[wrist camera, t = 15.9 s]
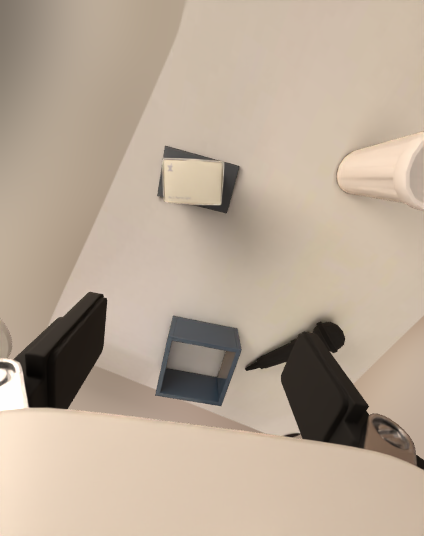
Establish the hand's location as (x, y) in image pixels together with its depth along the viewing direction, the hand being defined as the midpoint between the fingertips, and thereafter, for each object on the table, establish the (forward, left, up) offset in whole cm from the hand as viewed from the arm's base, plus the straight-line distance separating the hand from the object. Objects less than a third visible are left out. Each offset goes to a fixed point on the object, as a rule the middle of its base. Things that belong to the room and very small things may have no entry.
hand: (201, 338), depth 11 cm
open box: (+4, -25, -28) cm, 38 cm away
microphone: (+21, -19, -29) cm, 40 cm away
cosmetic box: (-3, +6, -28) cm, 29 cm away
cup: (+20, +13, -29) cm, 38 cm away
